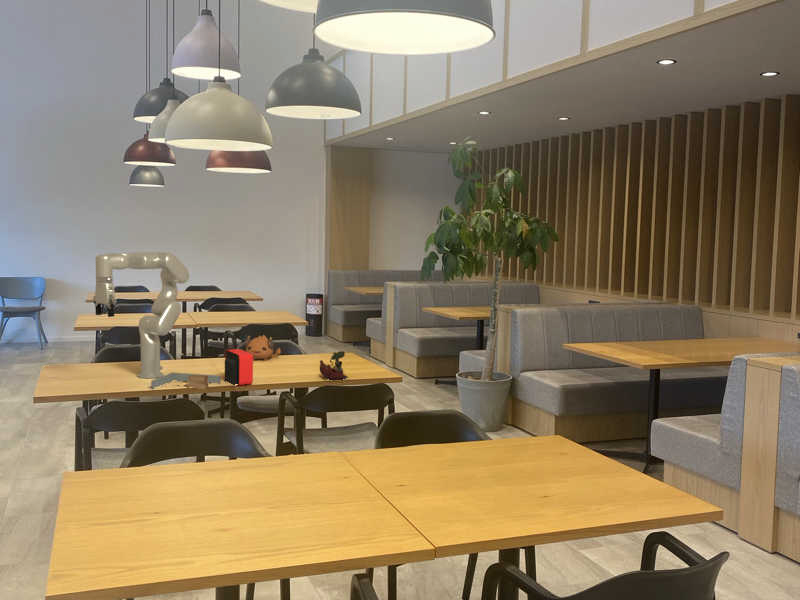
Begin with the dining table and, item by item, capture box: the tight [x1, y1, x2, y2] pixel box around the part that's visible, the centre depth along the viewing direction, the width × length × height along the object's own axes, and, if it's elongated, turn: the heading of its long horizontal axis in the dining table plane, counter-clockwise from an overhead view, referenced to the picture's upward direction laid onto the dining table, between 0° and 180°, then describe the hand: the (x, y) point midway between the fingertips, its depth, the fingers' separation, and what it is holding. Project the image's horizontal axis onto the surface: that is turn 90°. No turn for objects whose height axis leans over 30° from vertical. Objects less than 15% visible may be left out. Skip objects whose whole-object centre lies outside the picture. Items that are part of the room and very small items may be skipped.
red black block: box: [224, 348, 254, 386], centre depth 386 cm, size 10×20×16 cm, turn 33°
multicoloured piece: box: [319, 350, 349, 380], centre depth 401 cm, size 14×15×15 cm
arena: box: [150, 372, 222, 388], centre depth 375 cm, size 22×26×4 cm
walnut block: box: [187, 373, 209, 390], centre depth 372 cm, size 5×8×6 cm, turn 80°
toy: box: [243, 334, 282, 361], centre depth 453 cm, size 19×17×15 cm
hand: (104, 315), depth 369 cm, fingers open, 9 cm apart
